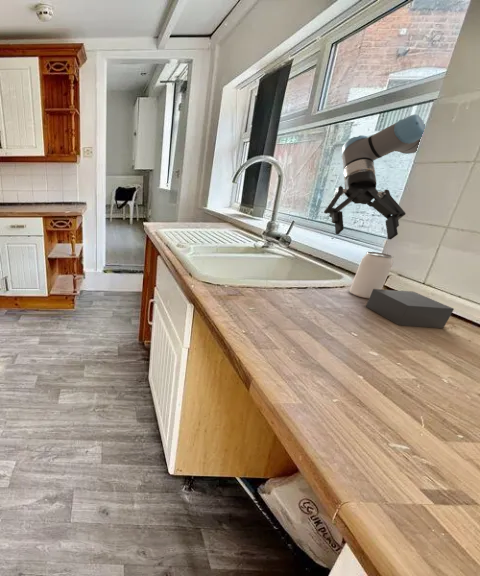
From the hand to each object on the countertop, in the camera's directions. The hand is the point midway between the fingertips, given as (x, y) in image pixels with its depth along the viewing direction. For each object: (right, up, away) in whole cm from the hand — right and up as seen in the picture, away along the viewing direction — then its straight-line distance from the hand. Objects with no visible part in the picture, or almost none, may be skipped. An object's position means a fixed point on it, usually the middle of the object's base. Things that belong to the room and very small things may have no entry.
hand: (365, 234), depth 90 cm
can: (-3, -18, -3) cm, 19 cm away
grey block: (-5, -23, -16) cm, 28 cm away
